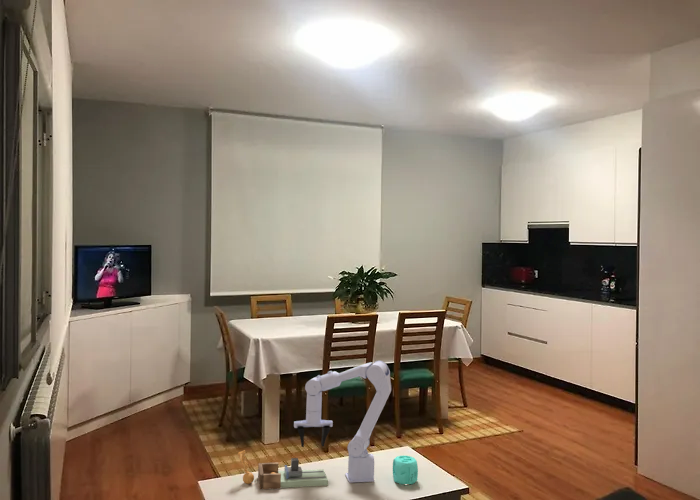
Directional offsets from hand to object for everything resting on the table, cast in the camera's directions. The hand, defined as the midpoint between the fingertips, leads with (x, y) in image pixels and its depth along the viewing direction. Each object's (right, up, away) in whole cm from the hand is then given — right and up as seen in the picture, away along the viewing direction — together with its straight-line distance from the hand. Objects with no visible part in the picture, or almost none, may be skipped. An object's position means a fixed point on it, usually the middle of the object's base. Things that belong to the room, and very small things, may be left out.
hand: (312, 445), depth 222 cm
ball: (-13, -8, -11) cm, 19 cm away
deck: (-3, -10, -9) cm, 14 cm away
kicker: (-6, -8, -9) cm, 14 cm away
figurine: (-23, -9, -13) cm, 28 cm away
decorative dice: (+34, -12, -5) cm, 37 cm away
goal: (-15, -10, -11) cm, 21 cm away
